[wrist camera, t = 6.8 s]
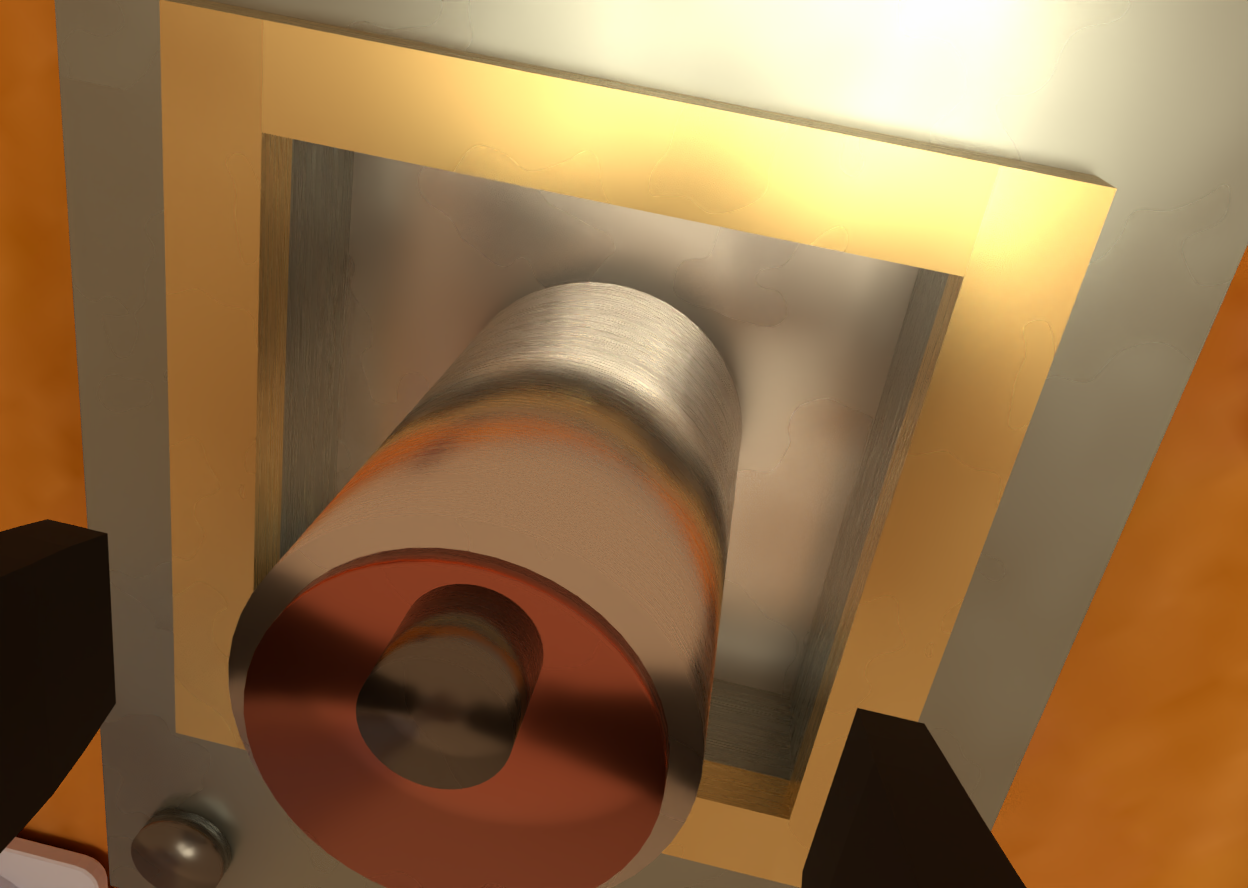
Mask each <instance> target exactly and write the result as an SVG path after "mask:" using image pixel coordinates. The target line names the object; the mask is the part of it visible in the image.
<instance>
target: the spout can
mask: <svg viewBox="0 0 1248 888" xmlns="http://www.w3.org/2000/svg"><path fill="white" fill-rule="evenodd" d="M741 435H742V417H741V407H740V402H739V397H738V392H737V389H736V386H735V383H734V381H733V378H732V375H731V373H730V371H729V369H728V367H727V365H726V363H725V361H724V359H723V357H722V356H721V354H720V353H719V351H718V350H717V348H716V347H715V346H714V344H713V343H712V341H711V340H710V339H709V338H708V337H707V336H706V335H705V334H704V332H703V331H702V330H701V329H700V328H699V327H698V326H697V325H696V324H694V323H693V322H692V321H691V320H690V319H689V318H688V317H686V316H685V315H684V314H683V313H681V312H680V311H678V310H677V309H675V308H674V307H672V306H671V305H669V304H668V303H666V302H664V301H662V300H660V299H658V298H656V297H654V296H652V295H650V294H647V293H644V292H641V291H638V290H635V289H633V288H630V287H625V286H620V285H615V284H611V283H599V282H576V283H566V284H561V285H556V286H551V287H548V288H545V289H542V290H539V291H535V292H533V293H531V294H529V295H527V296H525V297H522V298H520V299H518V300H516V301H515V302H513V303H512V304H511V305H509V306H508V307H506V308H505V309H503V310H502V311H500V312H499V313H498V314H497V315H496V316H495V317H494V318H493V319H492V320H491V321H490V322H488V323H487V325H486V326H485V327H484V328H483V329H482V330H481V331H480V333H479V334H478V335H477V336H476V337H475V338H474V339H473V341H472V342H471V343H470V344H469V345H468V346H467V347H466V349H465V350H464V351H463V352H462V353H461V354H460V355H459V357H458V358H457V359H456V360H455V361H454V362H453V363H452V365H451V366H450V367H449V368H448V369H447V370H446V371H445V372H444V374H443V375H442V376H441V377H440V378H439V379H438V380H437V382H436V383H435V384H434V385H433V386H432V387H431V388H430V390H429V391H428V392H427V393H426V394H425V395H424V396H423V398H422V399H421V400H420V401H419V402H418V403H417V404H416V406H415V407H414V408H413V409H412V410H411V411H410V412H409V413H408V415H407V416H406V417H405V418H404V419H403V420H402V421H401V423H400V424H399V425H398V426H397V427H396V428H395V429H394V431H393V432H392V433H391V434H390V435H389V436H388V437H387V439H386V440H385V441H384V442H383V443H382V444H381V445H380V447H379V448H378V449H377V450H376V451H375V452H374V453H373V454H372V456H371V457H370V458H369V459H368V460H367V461H366V462H365V464H364V465H363V466H362V467H361V468H360V469H359V470H358V472H357V473H356V474H355V475H354V476H353V477H352V478H351V480H350V481H349V482H348V483H347V484H346V485H345V486H344V488H343V489H342V490H341V491H340V492H339V493H338V494H337V496H336V497H335V498H334V499H333V500H332V501H331V502H330V503H329V505H328V506H327V507H326V508H325V509H324V510H323V511H322V513H321V514H320V515H319V516H318V517H317V518H316V519H315V521H314V522H313V523H312V524H311V525H310V526H309V527H308V529H307V530H306V531H305V532H304V533H303V534H302V535H301V537H300V538H299V539H298V540H297V541H296V542H295V543H294V544H293V546H292V547H291V548H290V549H289V550H288V551H287V552H286V554H285V555H284V556H283V557H282V558H281V559H280V560H279V562H278V563H277V564H276V565H275V566H274V567H273V568H272V570H271V571H270V572H269V573H268V574H267V575H266V577H265V578H264V579H263V580H262V582H261V583H260V584H259V585H258V587H257V588H256V589H255V590H254V592H253V593H252V595H251V596H250V598H249V600H248V602H247V604H246V606H245V607H244V609H243V611H242V613H241V615H240V617H239V620H238V623H237V626H236V629H235V632H234V635H233V638H232V644H231V650H230V656H229V662H228V676H229V693H230V700H231V706H232V712H233V716H234V719H235V722H236V725H237V729H238V732H239V735H240V738H241V740H242V742H243V744H244V747H245V749H246V751H247V753H248V755H249V758H250V760H251V762H252V763H253V765H254V766H255V768H256V770H257V771H258V773H259V775H260V776H261V778H262V780H263V781H264V783H265V784H266V786H267V787H268V788H269V789H270V791H271V793H272V794H273V796H274V798H275V799H276V800H277V802H278V803H279V804H280V806H281V807H282V808H283V809H284V811H285V812H286V813H287V815H288V816H289V817H290V818H291V820H292V821H293V822H294V823H295V824H296V825H297V826H298V827H299V828H300V829H301V830H302V831H303V832H304V833H305V834H306V835H307V836H308V837H309V838H310V839H311V840H313V841H314V842H315V843H316V844H317V845H318V846H320V847H321V848H322V849H323V850H324V851H325V852H327V853H328V854H329V855H331V856H332V857H334V858H335V859H337V860H338V861H339V862H341V863H342V864H344V865H345V866H347V867H348V868H350V869H352V870H353V871H355V872H357V873H359V874H360V875H362V876H364V877H366V878H367V879H369V880H371V881H373V882H375V883H377V884H380V885H382V886H384V887H386V888H612V887H614V886H616V885H618V884H620V883H621V882H623V881H625V880H627V879H629V878H630V877H632V876H634V875H635V874H637V873H638V872H639V871H641V870H642V869H643V868H645V867H646V866H647V865H648V864H650V863H651V862H652V861H654V860H655V859H656V858H657V857H658V856H659V855H660V854H661V853H662V851H663V850H664V849H665V848H666V847H667V846H668V845H669V844H670V843H671V842H672V841H673V839H674V838H675V836H676V835H677V833H678V832H679V830H680V829H681V827H682V826H683V825H684V823H685V821H686V819H687V817H688V815H689V813H690V810H691V808H692V806H693V804H694V802H695V799H696V796H697V792H698V788H699V784H700V781H701V777H702V769H703V761H704V752H705V744H706V735H707V727H708V718H709V710H710V701H711V693H712V684H713V676H714V667H715V658H716V650H717V641H718V633H719V624H720V616H721V607H722V599H723V590H724V582H725V573H726V565H727V556H728V548H729V539H730V531H731V522H732V514H733V505H734V497H735V488H736V480H737V471H738V463H739V454H740V445H741Z"/></svg>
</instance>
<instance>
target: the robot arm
mask: <svg viewBox="0 0 1248 888" xmlns="http://www.w3.org/2000/svg"><path fill="white" fill-rule="evenodd" d="M115 704H116V693H115V673H114V653H113V632H112V612H111V592H110V571H109V551H108V533H104V532H100V531H95V530H91V529H87V528H83V527H78V526H74V525H70V524H65V523H61V522H57V521H52V520H48V519H47V520H43V521H39V522H35V523H31V524H27V525H23V526H20V527H16V528H12V529H9V530H5V531H2V532H0V888H108V882H107V875H106V872H105V869H104V867H103V866H102V865H101V863H100V862H98V861H97V860H96V859H94V858H92V857H90V856H87V855H84V854H80V853H76V852H73V851H69V850H65V849H61V848H57V847H53V846H49V845H45V844H42V843H38V842H34V841H30V840H26V839H22V838H18V837H16V836H17V834H18V833H19V832H20V831H21V830H22V829H23V828H24V827H25V826H26V824H27V823H28V822H29V821H30V820H31V819H32V818H33V817H34V815H35V814H36V813H37V812H38V811H39V810H40V809H41V807H42V806H43V805H44V804H45V803H46V802H47V801H48V799H49V798H50V797H51V796H52V795H53V794H54V792H55V791H56V789H57V788H58V787H59V785H60V784H61V782H62V781H63V780H64V778H65V777H66V776H67V774H68V773H69V771H70V770H71V769H72V767H73V766H74V765H75V763H76V762H77V760H78V759H79V758H80V756H81V755H82V753H83V752H84V751H85V749H86V748H87V746H88V745H89V743H90V742H91V740H92V739H93V737H94V736H95V734H96V733H97V731H98V730H99V728H100V727H101V725H102V724H103V722H104V721H105V719H106V718H107V716H108V715H109V713H110V712H111V710H112V709H113V707H114V706H115ZM801 888H1026V886H1025V885H1024V883H1023V882H1022V880H1021V879H1020V877H1019V876H1018V874H1017V873H1016V871H1015V869H1014V868H1013V866H1012V865H1011V863H1010V862H1009V860H1008V858H1007V857H1006V855H1005V854H1004V852H1003V851H1002V849H1001V847H1000V846H999V844H998V843H997V841H996V839H995V838H994V836H993V835H992V833H991V831H990V830H989V828H988V826H987V825H986V823H985V822H984V820H983V818H982V817H981V815H980V813H979V812H978V810H977V809H976V807H975V805H974V804H973V802H972V800H971V799H970V797H969V795H968V794H967V792H966V791H965V789H964V787H963V786H962V784H961V782H960V781H959V779H958V777H957V776H956V774H955V772H954V771H953V769H952V768H951V766H950V764H949V763H948V761H947V759H946V758H945V756H944V754H943V753H942V751H941V750H940V748H939V746H938V745H937V743H936V741H935V740H934V738H933V737H932V735H931V733H930V732H929V730H928V729H927V727H926V725H925V724H924V723H920V722H916V721H912V720H908V719H903V718H899V717H895V716H890V715H886V714H882V713H878V712H873V711H869V710H865V709H860V708H857V710H856V713H855V716H854V719H853V722H852V725H851V728H850V731H849V734H848V737H847V740H846V743H845V746H844V749H843V752H842V755H841V758H840V761H839V764H838V767H837V770H836V773H835V775H834V778H833V781H832V784H831V787H830V790H829V793H828V796H827V799H826V802H825V805H824V808H823V811H822V814H821V817H820V820H819V823H818V826H817V829H816V832H815V835H814V838H813V841H812V844H811V847H810V850H809V853H808V856H807V859H806V862H805V865H804V868H803V871H802V885H801Z"/></svg>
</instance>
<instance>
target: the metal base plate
mask: <svg viewBox="0 0 1248 888" xmlns="http://www.w3.org/2000/svg"><path fill="white" fill-rule="evenodd" d="M55 13H56V29H57V45H58V61H59V77H60V93H61V109H62V125H63V140H64V156H65V172H66V188H67V204H68V220H69V236H70V252H71V268H72V284H73V300H74V316H75V332H76V348H77V364H78V380H79V396H80V412H81V428H82V444H83V459H84V475H85V491H86V507H87V523H88V529H91V530H95V531H100V532H104V533H108V551H109V571H110V592H111V612H112V632H113V653H114V673H115V693H116V704H115V706H114V707H113V709H112V710H111V712H110V713H109V715H108V716H107V718H106V719H105V721H104V722H103V724H102V725H101V727H100V731H101V747H102V763H103V778H104V794H105V810H106V826H107V842H108V858H109V874H110V885H111V886H115V887H118V888H386V887H384V886H382V885H380V884H377V883H375V882H373V881H371V880H369V879H367V878H366V877H364V876H362V875H360V874H359V873H357V872H355V871H353V870H352V869H350V868H348V867H347V866H345V865H344V864H342V863H341V862H339V861H338V860H337V859H335V858H334V857H332V856H331V855H329V854H328V853H327V852H325V851H324V850H323V849H322V848H321V847H320V846H318V845H317V844H316V843H315V842H314V841H313V840H311V839H310V838H309V837H308V836H307V835H306V834H305V833H304V832H303V831H302V830H301V829H300V828H299V827H298V826H297V825H296V824H295V823H294V822H293V821H292V820H291V818H290V817H289V816H288V815H287V813H286V812H285V811H284V809H283V808H282V807H281V806H280V804H279V803H278V802H277V800H276V799H275V798H274V796H273V794H272V793H271V791H270V789H269V788H268V787H267V786H266V784H265V783H264V781H263V780H262V778H261V776H260V775H259V773H258V771H257V770H256V768H255V766H254V765H253V763H252V762H251V760H250V758H249V755H248V753H247V751H246V749H245V747H244V744H243V742H242V740H241V738H240V735H239V732H238V729H237V725H236V722H235V719H234V716H233V712H232V706H231V700H230V693H229V676H228V662H229V656H230V650H231V644H232V638H233V635H234V632H235V629H236V626H237V623H238V620H239V617H240V615H241V613H242V611H243V609H244V607H245V606H246V604H247V602H248V600H249V598H250V596H251V595H252V593H253V592H254V590H255V589H256V588H257V587H258V585H259V584H260V583H261V582H262V580H263V579H264V578H265V577H266V575H267V574H268V573H269V572H270V571H271V570H272V568H273V567H274V566H275V565H276V564H277V563H278V562H279V560H280V559H281V558H282V557H283V556H284V555H285V554H286V552H287V551H288V550H289V549H290V548H291V547H292V546H293V544H294V543H295V542H296V541H297V540H298V539H299V538H300V537H301V535H302V534H303V533H304V532H305V531H306V530H307V529H308V527H309V526H310V525H311V524H312V523H313V522H314V521H315V519H316V518H317V517H318V516H319V515H320V514H321V513H322V511H323V510H324V509H325V508H326V507H327V506H328V505H329V503H330V502H331V501H332V500H333V499H334V498H335V497H336V496H337V494H338V493H339V492H340V491H341V490H342V489H343V488H344V486H345V485H346V484H347V483H348V482H349V481H350V480H351V478H352V477H353V476H354V475H355V474H356V473H357V472H358V470H359V469H360V468H361V467H362V466H363V465H364V464H365V462H366V461H367V460H368V459H369V458H370V457H371V456H372V454H373V453H374V452H375V451H376V450H377V449H378V448H379V447H380V445H381V444H382V443H383V442H384V441H385V440H386V439H387V437H388V436H389V435H390V434H391V433H392V432H393V431H394V429H395V428H396V427H397V426H398V425H399V424H400V423H401V421H402V420H403V419H404V418H405V417H406V416H407V415H408V413H409V412H410V411H411V410H412V409H413V408H414V407H415V406H416V404H417V403H418V402H419V401H420V400H421V399H422V398H423V396H424V395H425V394H426V393H427V392H428V391H429V390H430V388H431V387H432V386H433V385H434V384H435V383H436V382H437V380H438V379H439V378H440V377H441V376H442V375H443V374H444V372H445V371H446V370H447V369H448V368H449V367H450V366H451V365H452V363H453V362H454V361H455V360H456V359H457V358H458V357H459V355H460V354H461V353H462V352H463V351H464V350H465V349H466V347H467V346H468V345H469V344H470V343H471V342H472V341H473V339H474V338H475V337H476V336H477V335H478V334H479V333H480V331H481V330H482V329H483V328H484V327H485V326H486V325H487V323H488V322H490V321H491V320H492V319H493V318H494V317H495V316H496V315H497V314H498V313H499V312H500V311H502V310H503V309H505V308H506V307H508V306H509V305H511V304H512V303H513V302H515V301H516V300H518V299H520V298H522V297H525V296H527V295H529V294H531V293H533V292H535V291H539V290H542V289H545V288H548V287H551V286H556V285H561V284H566V283H576V282H599V283H611V284H615V285H620V286H625V287H630V288H633V289H635V290H638V291H641V292H644V293H647V294H650V295H652V296H654V297H656V298H658V299H660V300H662V301H664V302H666V303H668V304H669V305H671V306H672V307H674V308H675V309H677V310H678V311H680V312H681V313H683V314H684V315H685V316H686V317H688V318H689V319H690V320H691V321H692V322H693V323H694V324H696V325H697V326H698V327H699V328H700V329H701V330H702V331H703V332H704V334H705V335H706V336H707V337H708V338H709V339H710V340H711V341H712V343H713V344H714V346H715V347H716V348H717V350H718V351H719V353H720V354H721V356H722V357H723V359H724V361H725V363H726V365H727V367H728V369H729V371H730V373H731V375H732V378H733V381H734V383H735V386H736V389H737V392H738V397H739V402H740V407H741V417H742V435H741V445H740V454H739V463H738V471H737V480H736V488H735V497H734V505H733V514H732V522H731V531H730V539H729V548H728V556H727V565H726V573H725V582H724V590H723V599H722V607H721V616H720V624H719V633H718V641H717V650H716V658H715V667H714V676H713V684H712V693H711V701H710V710H709V718H708V727H707V735H706V744H705V752H704V761H703V769H702V777H701V781H700V784H699V788H698V792H697V796H696V799H695V802H694V804H693V806H692V808H691V810H690V813H689V815H688V817H687V819H686V821H685V823H684V825H683V826H682V827H681V829H680V830H679V832H678V833H677V835H676V836H675V838H674V839H673V841H672V842H671V843H670V844H669V845H668V846H667V847H666V848H665V849H664V850H663V851H662V853H661V854H660V855H659V856H658V857H657V858H656V859H655V860H654V861H652V862H651V863H650V864H648V865H647V866H646V867H645V868H643V869H642V870H641V871H639V872H638V873H637V874H635V875H634V876H632V877H630V878H629V879H627V880H625V881H623V882H621V883H620V884H618V885H616V886H614V887H612V888H801V885H802V871H803V868H804V865H805V862H806V859H807V856H808V853H809V850H810V847H811V844H812V841H813V838H814V835H815V832H816V829H817V826H818V823H819V820H820V817H821V814H822V811H823V808H824V805H825V802H826V799H827V796H828V793H829V790H830V787H831V784H832V781H833V778H834V775H835V773H836V770H837V767H838V764H839V761H840V758H841V755H842V752H843V749H844V746H845V743H846V740H847V737H848V734H849V731H850V728H851V725H852V722H853V719H854V716H855V713H856V710H857V708H860V709H865V710H869V711H873V712H878V713H882V714H886V715H890V716H895V717H899V718H903V719H908V720H912V721H916V722H920V723H924V724H925V725H926V727H927V729H928V730H929V732H930V733H931V735H932V737H933V738H934V740H935V741H936V743H937V745H938V746H939V748H940V750H941V751H942V753H943V754H944V756H945V758H946V759H947V761H948V763H949V764H950V766H951V768H952V769H953V771H954V772H955V774H956V776H957V777H958V779H959V781H960V782H961V784H962V786H963V787H964V789H965V791H966V792H967V794H968V795H969V797H970V799H971V800H972V802H973V804H974V805H975V807H976V809H977V810H978V812H979V813H980V815H981V817H982V818H983V820H984V822H985V823H986V825H987V826H988V828H989V830H990V831H991V830H992V827H993V825H994V823H995V820H996V818H997V816H998V814H999V811H1000V809H1001V807H1002V804H1003V802H1004V800H1005V798H1006V795H1007V793H1008V791H1009V788H1010V786H1011V784H1012V782H1013V779H1014V777H1015V775H1016V772H1017V770H1018V768H1019V766H1020V763H1021V761H1022V759H1023V756H1024V754H1025V752H1026V750H1027V747H1028V745H1029V743H1030V740H1031V738H1032V736H1033V734H1034V731H1035V729H1036V727H1037V724H1038V722H1039V720H1040V718H1041V715H1042V713H1043V711H1044V708H1045V706H1046V704H1047V702H1048V699H1049V697H1050V695H1051V692H1052V690H1053V688H1054V686H1055V683H1056V681H1057V679H1058V676H1059V674H1060V672H1061V670H1062V667H1063V665H1064V663H1065V660H1066V658H1067V656H1068V654H1069V651H1070V649H1071V647H1072V644H1073V642H1074V640H1075V638H1076V635H1077V633H1078V631H1079V628H1080V626H1081V624H1082V622H1083V619H1084V617H1085V615H1086V612H1087V610H1088V608H1089V606H1090V603H1091V601H1092V599H1093V596H1094V594H1095V592H1096V590H1097V587H1098V585H1099V583H1100V580H1101V578H1102V576H1103V574H1104V571H1105V569H1106V567H1107V564H1108V562H1109V560H1110V558H1111V555H1112V553H1113V551H1114V548H1115V546H1116V544H1117V542H1118V539H1119V537H1120V535H1121V532H1122V530H1123V528H1124V526H1125V523H1126V521H1127V519H1128V516H1129V514H1130V512H1131V510H1132V507H1133V505H1134V503H1135V500H1136V498H1137V496H1138V494H1139V491H1140V489H1141V487H1142V484H1143V482H1144V480H1145V478H1146V475H1147V473H1148V471H1149V468H1150V466H1151V464H1152V462H1153V459H1154V457H1155V455H1156V453H1157V450H1158V448H1159V446H1160V443H1161V441H1162V439H1163V437H1164V434H1165V432H1166V430H1167V427H1168V425H1169V423H1170V421H1171V418H1172V416H1173V414H1174V411H1175V409H1176V407H1177V405H1178V402H1179V400H1180V398H1181V395H1182V393H1183V391H1184V389H1185V386H1186V384H1187V382H1188V379H1189V377H1190V375H1191V373H1192V370H1193V368H1194V366H1195V363H1196V361H1197V359H1198V357H1199V354H1200V352H1201V350H1202V347H1203V345H1204V343H1205V341H1206V338H1207V336H1208V334H1209V331H1210V329H1211V327H1212V325H1213V322H1214V320H1215V318H1216V315H1217V313H1218V311H1219V309H1220V306H1221V304H1222V302H1223V299H1224V297H1225V295H1226V293H1227V290H1228V288H1229V286H1230V283H1231V281H1232V279H1233V277H1234V274H1235V272H1236V270H1237V267H1238V265H1239V263H1240V261H1241V258H1242V256H1243V254H1244V251H1245V249H1246V247H1247V245H1248V0H55Z"/></svg>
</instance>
